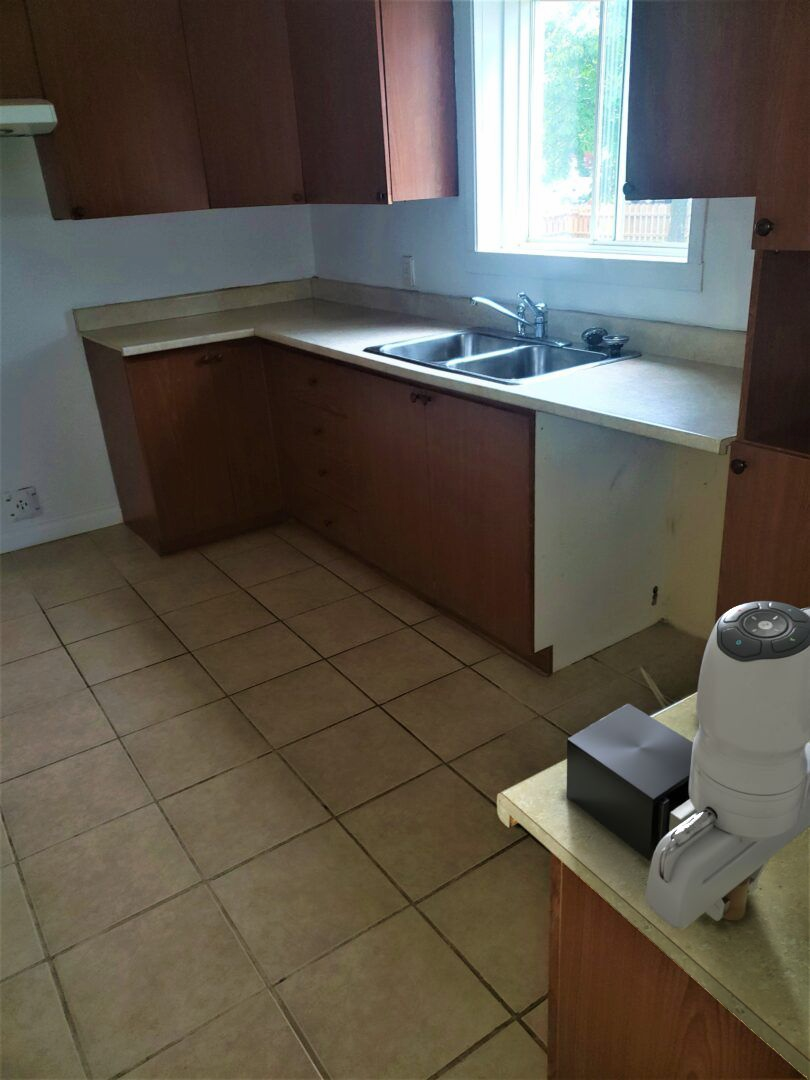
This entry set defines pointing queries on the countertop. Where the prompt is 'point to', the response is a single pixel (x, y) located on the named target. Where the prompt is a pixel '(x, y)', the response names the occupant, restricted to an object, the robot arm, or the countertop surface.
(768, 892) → the countertop surface
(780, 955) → the countertop surface
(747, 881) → the cork plug
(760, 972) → the countertop surface
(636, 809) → the small black cabinet
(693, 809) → the drawer
